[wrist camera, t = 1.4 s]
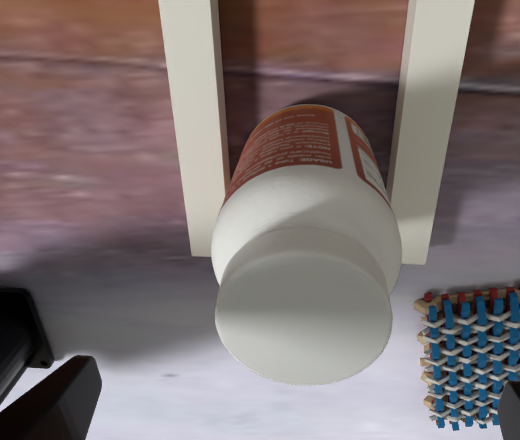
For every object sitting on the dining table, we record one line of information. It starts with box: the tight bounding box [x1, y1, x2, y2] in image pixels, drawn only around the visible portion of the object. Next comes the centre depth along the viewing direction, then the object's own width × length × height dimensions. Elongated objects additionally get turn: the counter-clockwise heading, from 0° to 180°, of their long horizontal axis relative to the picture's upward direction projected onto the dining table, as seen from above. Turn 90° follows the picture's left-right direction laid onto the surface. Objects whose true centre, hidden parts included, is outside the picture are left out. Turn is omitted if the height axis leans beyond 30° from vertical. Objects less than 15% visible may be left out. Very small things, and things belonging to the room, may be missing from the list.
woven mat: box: [414, 287, 520, 431], centre depth 25 cm, size 10×11×2 cm
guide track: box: [159, 0, 475, 265], centre depth 16 cm, size 20×12×5 cm, turn 2°
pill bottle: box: [211, 104, 402, 386], centre depth 16 cm, size 6×6×11 cm
